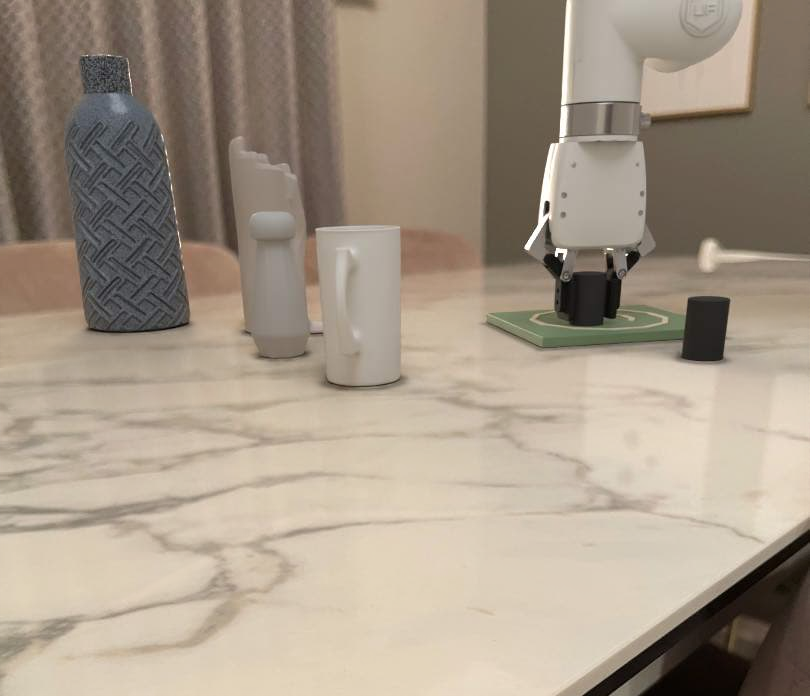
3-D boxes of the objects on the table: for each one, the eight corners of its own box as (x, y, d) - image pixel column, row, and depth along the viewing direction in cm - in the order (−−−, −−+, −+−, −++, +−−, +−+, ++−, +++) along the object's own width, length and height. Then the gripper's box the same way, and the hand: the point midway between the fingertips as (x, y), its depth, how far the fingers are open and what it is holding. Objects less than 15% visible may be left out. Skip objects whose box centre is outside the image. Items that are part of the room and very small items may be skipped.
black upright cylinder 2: (709, 352, 79) (716, 295, 77) (731, 359, 76) (738, 299, 74) (674, 354, 78) (680, 297, 76) (694, 361, 75) (701, 301, 73)
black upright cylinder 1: (594, 320, 92) (597, 270, 90) (608, 325, 89) (612, 273, 87) (563, 322, 91) (566, 271, 89) (576, 327, 88) (579, 275, 86)
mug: (336, 369, 75) (329, 225, 71) (410, 371, 74) (407, 225, 69) (301, 395, 66) (290, 233, 62) (385, 398, 65) (380, 232, 60)
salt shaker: (324, 351, 83) (316, 210, 78) (287, 361, 79) (276, 212, 74) (278, 347, 86) (267, 210, 81) (240, 356, 82) (226, 212, 77)
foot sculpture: (363, 332, 93) (356, 132, 86) (239, 335, 94) (220, 135, 86) (368, 322, 100) (361, 135, 92) (251, 324, 100) (235, 138, 93)
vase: (136, 336, 94) (95, 46, 83) (64, 328, 100) (18, 57, 89) (212, 320, 104) (184, 58, 93) (142, 315, 110) (109, 68, 99)
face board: (642, 313, 103) (643, 303, 103) (725, 336, 87) (727, 325, 86) (486, 321, 99) (486, 311, 99) (542, 347, 83) (542, 336, 83)
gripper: (658, 128, 88) (641, 310, 95) (504, 129, 84) (499, 317, 91) (696, 124, 81) (675, 319, 88) (531, 124, 78) (523, 327, 85)
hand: (586, 316), depth 90 cm, fingers open, 4 cm apart
